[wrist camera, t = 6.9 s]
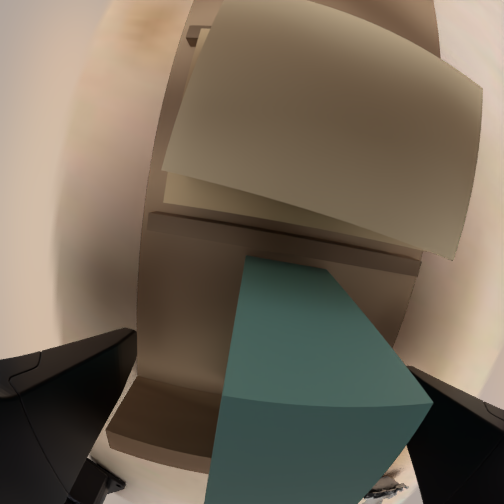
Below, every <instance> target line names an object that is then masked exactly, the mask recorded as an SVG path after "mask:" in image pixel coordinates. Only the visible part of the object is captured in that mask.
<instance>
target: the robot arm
mask: <svg viewBox="0 0 504 504" xmlns="http://www.w3.org/2000/svg"><path fill="white" fill-rule="evenodd" d="M136 357H137V332H136V331H135V330H133V329H129V328H121V329H118V330H114V331H111V332H107V333H104V334H101V335H97V336H94V337H90V338H87V339H83V340H80V341H76V342H72V343H69V344H65V345H62V346H58V347H54V348H50V349H47V350H43V351H42V352H40V351H39V352H35V353H31V354H28V355H23V356H19V357H13V358H8V359H2V360H0V504H103V502H104V500H105V497H106V495H107V494H109V493H113V492H116V491H119V490H122V489H124V488H125V486H126V484H125V483H124V482H122V481H121V480H119V479H118V478H116V477H114V476H113V475H111V474H110V473H108V472H107V471H105V470H104V469H102V468H101V467H100V466H98V465H97V464H95V463H94V462H93V461H91V460H90V459H89V458H87V457H88V455H89V453H90V451H91V449H92V447H93V445H94V443H95V441H96V440H97V438H98V436H99V434H100V432H101V430H102V428H103V427H104V425H105V423H106V421H107V419H108V417H109V416H110V414H111V412H112V410H113V408H114V407H115V405H116V403H117V401H118V399H119V398H120V396H121V394H122V392H123V389H124V387H125V384H126V382H127V379H128V377H129V375H130V372H131V370H132V367H133V365H134V362H135V360H136ZM406 367H407V368H408V369H409V371H410V372H411V373H412V375H413V376H414V377H415V378H416V380H417V381H418V382H419V384H420V385H421V386H422V388H423V389H424V390H425V392H426V393H427V394H428V396H429V397H430V398H431V400H432V401H433V404H432V406H431V408H430V410H429V411H428V413H427V414H426V416H425V418H424V419H423V421H422V422H421V424H420V426H419V427H418V429H417V430H416V432H415V433H414V435H413V436H412V438H411V439H410V440H409V442H408V443H407V448H408V451H409V454H410V458H411V461H412V464H413V468H414V471H415V475H416V478H417V482H418V485H419V489H420V492H421V496H422V500H423V504H504V410H502V409H500V408H497V407H495V406H493V405H491V404H489V403H486V402H483V401H482V400H480V399H478V398H476V397H474V396H472V395H470V394H468V393H465V392H463V391H461V390H459V389H457V388H455V387H453V386H451V385H449V384H447V383H445V382H443V381H441V380H439V379H437V378H435V377H433V376H431V375H429V374H427V373H425V372H423V371H421V370H419V369H417V368H415V367H413V366H406Z"/></svg>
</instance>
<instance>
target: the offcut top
mask: <svg viewBox="0 0 504 504" xmlns="http://www.w3.org/2000/svg"><path fill="white" fill-rule="evenodd" d="M482 96H483V88H481V87H480V86H479V85H477V84H476V83H475V82H473V81H472V80H471V79H469V78H468V77H467V76H465V75H464V74H462V73H461V72H460V71H458V70H457V69H455V68H454V67H452V66H451V65H449V64H448V63H446V62H445V61H443V60H441V59H440V58H438V57H437V56H435V55H433V54H432V53H430V52H428V51H427V50H425V49H423V48H421V47H420V46H418V45H416V44H414V43H412V42H410V41H409V40H407V39H405V38H403V37H401V36H399V35H397V34H395V33H393V32H391V31H389V30H386V29H384V28H382V27H380V26H378V25H375V24H373V23H371V22H368V21H366V20H363V19H361V18H358V17H356V16H353V15H351V14H348V13H345V12H342V11H340V10H337V9H334V8H331V7H328V6H325V5H321V4H318V3H315V2H311V1H308V0H224V1H223V3H222V5H221V7H220V9H219V11H218V13H217V15H216V17H215V19H214V22H213V24H212V26H211V28H210V31H209V33H208V35H207V38H206V40H205V42H204V45H203V47H202V49H201V52H200V54H199V57H198V59H197V62H196V64H195V67H194V70H193V72H192V75H191V78H190V80H189V83H188V86H187V89H186V91H185V94H184V97H183V100H182V103H181V106H180V109H179V112H178V115H177V118H176V121H175V124H174V127H173V131H172V134H171V137H170V141H169V144H168V147H167V151H166V154H165V158H164V162H163V165H162V169H161V170H163V171H167V172H171V173H175V174H180V175H184V176H188V177H192V178H196V179H200V180H204V181H208V182H212V183H216V184H220V185H224V186H227V187H231V188H235V189H239V190H242V191H246V192H249V193H253V194H257V195H260V196H264V197H267V198H271V199H274V200H278V201H281V202H284V203H288V204H291V205H294V206H298V207H301V208H304V209H307V210H311V211H314V212H317V213H320V214H323V215H326V216H329V217H333V218H336V219H339V220H342V221H345V222H348V223H351V224H354V225H357V226H360V227H363V228H365V229H368V230H371V231H374V232H377V233H380V234H383V235H385V236H388V237H391V238H394V239H396V240H399V241H402V242H405V243H407V244H410V245H413V246H415V247H418V248H420V249H423V250H426V251H428V252H431V253H433V254H436V255H438V256H441V257H443V258H446V259H448V260H451V261H453V260H454V257H455V253H456V250H457V247H458V244H459V240H460V237H461V233H462V230H463V226H464V222H465V218H466V214H467V210H468V206H469V201H470V197H471V192H472V187H473V182H474V176H475V170H476V164H477V157H478V149H479V141H480V131H481V118H482Z"/></svg>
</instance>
